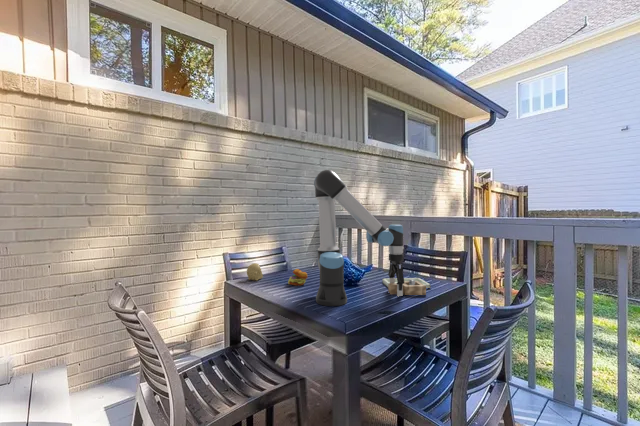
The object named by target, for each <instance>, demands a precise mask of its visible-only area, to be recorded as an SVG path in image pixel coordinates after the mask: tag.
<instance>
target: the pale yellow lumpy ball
mask: <svg viewBox="0 0 640 426" xmlns="http://www.w3.org/2000/svg"><path fill="white" fill-rule="evenodd" d="M262 272H263V271H262V268H261V266H260V265H259V263H258V262H257V263H255V262H254V263H251V264H249V266H248V267H247V268H246V276H247V277H248V279H247V280H249V281H251V280H252V281H258V280H261V279H263V277H264V274H263V273H262Z"/></svg>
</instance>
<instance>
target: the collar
mask: <svg viewBox="0 0 640 426" xmlns="http://www.w3.org/2000/svg"><path fill="white" fill-rule="evenodd" d="M387 289H388V290H387V291H388V292H389V293H390V294H389V293H388V294H389V295H397V283H388V287H387ZM403 295H404V296H405V295H426V296H427V289H426V286H425V285H423V284H422V283H420V282H419V281H415V285H409V281H404V284H403Z"/></svg>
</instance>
